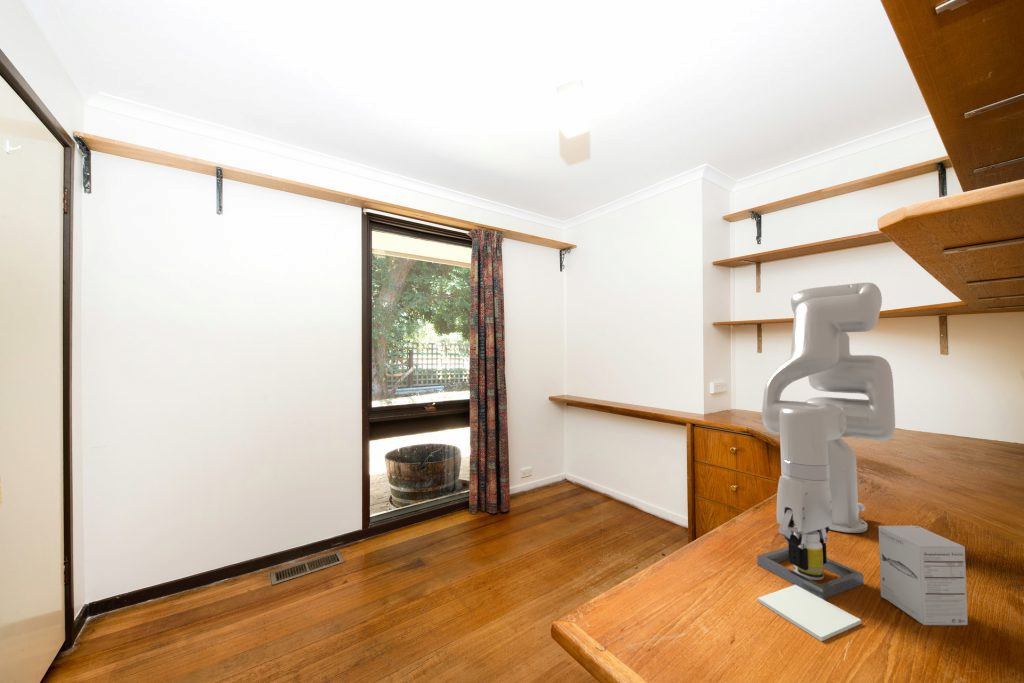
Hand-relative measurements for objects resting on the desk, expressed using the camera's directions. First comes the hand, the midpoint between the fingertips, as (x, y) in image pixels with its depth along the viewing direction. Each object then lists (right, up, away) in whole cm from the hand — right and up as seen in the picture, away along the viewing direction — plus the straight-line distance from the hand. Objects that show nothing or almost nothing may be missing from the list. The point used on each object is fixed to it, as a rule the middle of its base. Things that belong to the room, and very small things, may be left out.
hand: (807, 562), depth 75 cm
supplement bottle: (0, -2, 0) cm, 2 cm away
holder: (0, -2, 0) cm, 2 cm away
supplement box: (+11, -2, -11) cm, 15 cm away
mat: (-9, -2, -11) cm, 14 cm away
